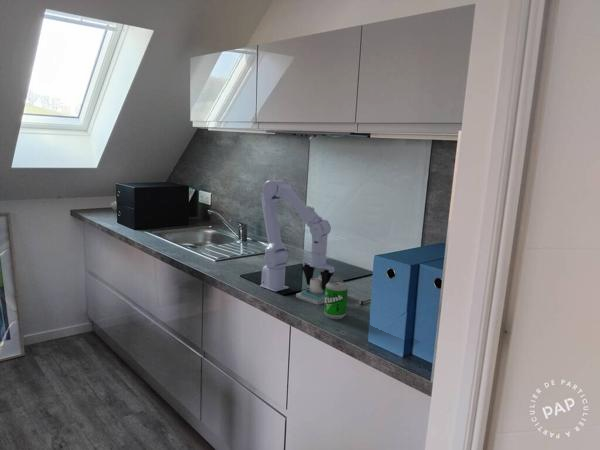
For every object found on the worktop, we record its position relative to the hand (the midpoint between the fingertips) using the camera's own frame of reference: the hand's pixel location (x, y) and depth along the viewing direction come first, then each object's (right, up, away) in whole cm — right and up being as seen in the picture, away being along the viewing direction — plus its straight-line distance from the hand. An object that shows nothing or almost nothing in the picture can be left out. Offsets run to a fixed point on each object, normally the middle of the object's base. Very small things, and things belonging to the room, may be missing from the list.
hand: (316, 286), depth 176 cm
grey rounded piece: (0, -3, 0) cm, 3 cm away
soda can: (+6, -8, -17) cm, 20 cm away
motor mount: (+2, -4, +3) cm, 6 cm away
